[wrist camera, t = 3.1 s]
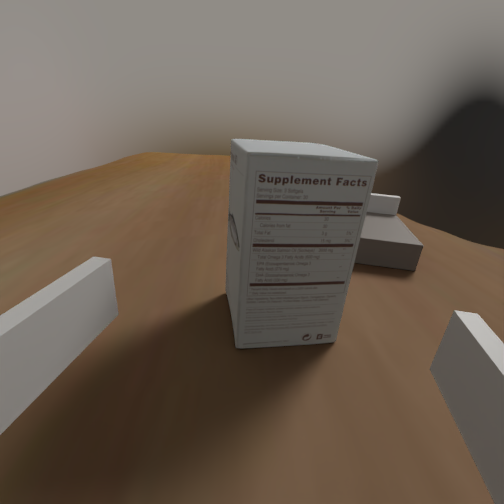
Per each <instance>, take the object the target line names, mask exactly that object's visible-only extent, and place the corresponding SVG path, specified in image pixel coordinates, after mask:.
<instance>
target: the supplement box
mask: <svg viewBox="0 0 504 504" xmlns="http://www.w3.org/2000/svg"><path fill="white" fill-rule="evenodd" d="M377 166H378V160H376V159H373V158H369V157H365V156H362V155H358V154H355V153H351V152H348V151H345V150H341V149H338V148H334V147H331V146H327V145H323V144H316V143H304V142H303V143H302V142H284V141H266V140H250V139H232V140H231V162H230V189H229V214H228V237H227V263H226V294H227V298H228V302H229V306H230V311H231V317H232V324H233V330H234V338H235V346H236V348H239V349H244V348H261V347H277V346H293V345H308V344H321V343H332V342H335V341H336V338H337V333H338V329H339V325H340V321H341V317H342V313H343V308H344V304H345V299H346V295H347V291H348V287H349V283H350V279H351V274H352V270H353V266H354V262H355V258H356V254H357V250H358V245H359V241H360V237H361V233H362V229H363V225H364V221H365V217H366V212H367V208H368V204H369V200H370V196H371V191H372V187H373V183H374V179H375V174H376V170H377Z"/></svg>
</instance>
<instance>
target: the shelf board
mask: <svg viewBox="0 0 504 504" xmlns="http://www.w3.org/2000/svg"><path fill="white" fill-rule="evenodd" d="M399 202H400V197H399V196H391V195H381V194H372V193H371V196H370V200H369V204H368V208H367V212H366V217H365V221H364V225H363V229H362V233H361V237H360V241H359V245H358V250H357V254H356V258H355V262H354V263H360V264H367V265H374V266H382V267H389V268H397V269H404V270H412V271H415V269H416V266H417V263H418V260H419V257H420V254H421V251H422V248H423V244H422V243H421V242H420V241H419V240H418V239H417V238H416V237H415V236H414V235H413V233H412V232H411V231H410V230H409V229H408V228H407V227H406V226H405V225H404V223H403V222H402V221H401V220H400V219H399V218H398V217H397V216H396V213H397V209H398V206H399Z"/></svg>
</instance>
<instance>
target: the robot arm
mask: <svg viewBox="0 0 504 504" xmlns="http://www.w3.org/2000/svg"><path fill="white" fill-rule="evenodd" d="M117 316H118V307H117V300H116V293H115V286H114V278H113V271H112V264H111V259H107V258H100V257H92V258H91V259H89V260H87V261H86V262H84V263H83V264H81V265H80V266H78V267H76V268H75V269H73V270H72V271H70V272H68V273H67V274H65V275H64V276H62V277H61V278H59V279H57V280H56V281H54V282H53V283H51V284H50V285H48V286H46V287H45V288H43V289H42V290H40V291H38V292H37V293H35V294H34V295H32V296H31V297H29V298H27V299H26V300H24V301H23V302H21V303H19V304H18V305H16V306H15V307H13V308H12V309H10V310H8V311H7V312H5V313H4V314H2V315H0V435H1V434H2V433H3V432H4V431H5V430H6V429H7V428H8V427H9V425H10V424H11V423H12V422H13V421H14V420H15V419H16V418H17V417H18V416H19V415H20V414H21V413H22V412H23V411H24V410H25V409H26V408H27V407H28V406H29V405H30V404H31V403H32V402H33V401H34V400H35V399H36V398H37V397H38V396H39V395H40V394H41V393H42V392H43V391H44V390H45V389H46V388H47V387H48V386H49V385H50V384H51V383H52V382H53V381H54V380H55V379H56V378H57V377H58V376H59V375H60V374H61V373H62V372H63V371H64V370H65V368H66V367H67V366H68V365H69V364H70V363H71V362H72V361H73V360H74V359H75V358H76V357H77V356H78V355H79V354H80V353H81V352H82V351H83V350H84V349H85V348H86V347H87V346H88V345H89V344H90V343H91V342H92V341H93V340H94V339H95V338H96V337H97V336H98V335H99V334H100V333H101V332H102V331H103V330H104V329H105V328H106V327H107V326H108V325H109V324H110V323H111V322H112V321H113V320H114V319H115V318H116V317H117ZM430 371H431V373H432V375H433V377H434V379H435V381H436V383H437V385H438V387H439V389H440V391H441V393H442V396H443V398H444V400H445V402H446V404H447V406H448V408H449V410H450V412H451V414H452V416H453V418H454V420H455V422H456V425H457V427H458V429H459V431H460V433H461V435H462V437H463V439H464V441H465V443H466V445H467V447H468V449H469V451H470V454H471V456H472V458H473V460H474V462H475V464H476V466H477V468H478V470H479V472H480V474H481V476H482V478H483V480H484V483H485V485H486V487H487V489H488V491H489V493H490V495H491V497H492V499H493V501H494V503H495V504H504V344H503V342H502V341H501V340H500V339H499V338H498V337H497V336H496V334H495V333H494V332H493V331H492V330H491V329H490V327H489V326H488V325H487V324H486V323H485V322H484V321H483V319H482V318H481V317H480V316H479V315H478V314H475V313H469V312H462V311H455V310H454V312H453V314H452V317H451V319H450V321H449V324H448V326H447V329H446V331H445V333H444V336H443V338H442V341H441V343H440V345H439V348H438V350H437V352H436V355H435V357H434V360H433V362H432V364H431V367H430Z"/></svg>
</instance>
